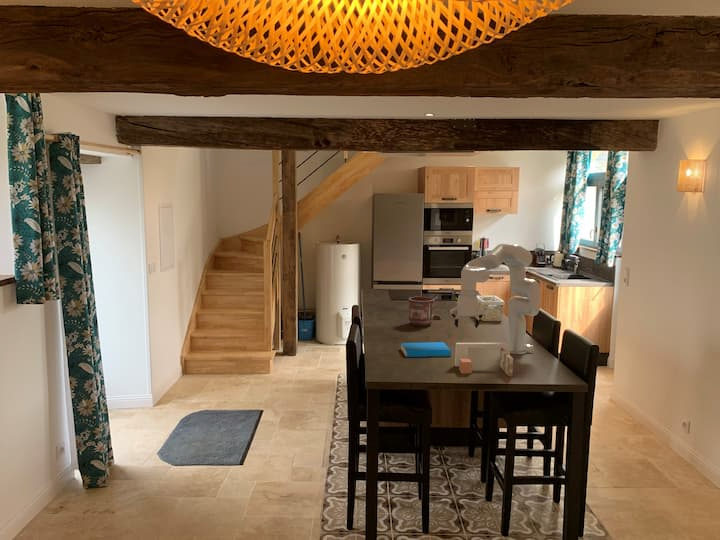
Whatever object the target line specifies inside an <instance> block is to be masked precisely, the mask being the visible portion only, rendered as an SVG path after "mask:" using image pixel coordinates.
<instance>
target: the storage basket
mask: <svg viewBox="0 0 720 540" xmlns="http://www.w3.org/2000/svg"><path fill="white" fill-rule="evenodd" d="M476 296H477V300H478V308H480V309H482V310H483V311H485V313H484V315H483V317H482V318H480V320H481V321H484V322H501V321H503V315H504V308H505V301H504V300H503V299H502V298H500V297H499V296H498V295H476ZM480 314H481V312H480V311H478V315H477V316H479V315H480Z"/></svg>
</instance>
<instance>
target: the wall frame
mask: <svg viewBox="0 0 720 540" xmlns="http://www.w3.org/2000/svg"><path fill="white" fill-rule="evenodd" d="M469 348H472V349H473V348H475V349H476V348H479V349H480V348H481V349H482V348H483V349H484V348H489V349H490V348H491V349H493V348H498V349H501V348H503V349H504V350H505V351H506V352H507V353H508V354H509V355H510V356H511V353H510V343H508V342H455V354H454V355H455V357H454V358H455V359H454V366H455V367H459V359H469Z"/></svg>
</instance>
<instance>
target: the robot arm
mask: <svg viewBox="0 0 720 540" xmlns="http://www.w3.org/2000/svg"><path fill="white" fill-rule="evenodd" d="M532 263H533V255H532V253H531V251H529V250H528V249H526V248H525V247H523V246H521V245H519V244H514V243H499V244H497V245H496V246H495V247H494V248H493V249H491V251H490V252H489V253H487V254H486V255H482V256H479V257H476V258H474V259H472V260H470V261H468V262H467V263H466V264H465V265H464V266H463V267H462V269H461V272H460V275H461V276H460V293H459V295H458V297H457V302H456V306H455V307H453V308H451V309H449V312H450V315H451V316H452V317H453V319H454V326H455V327H456V328H458V327H459V319H458V318H459V317H475V320H474V327H475V329H478V327H479V325H480V324H479V323H480V320H481V319H480V318H482V317H483V315H484V313H485V311H483V310H482V309H480V308H478V300H477V296H478V295H480V291H478V290H477V283H486V282H488V281H489V279H490V276H491V275H490V270H495V269H498V268H499V267H500V266H501V265H502V264H505V265H506V266H507V268H508V270H509V289H510V292H511V294H513V295H514V296H510V298H509V299H508V301H507V311H508V325H507V326H508V329H507V330H508V331H507V343H510V354H513V355H525V354H527V353H528V349H529V350H530V349H531V350H533V349H534V348H535V347H534V345H530V344H526V331H527V320H526V317H525V315H526V316H530V317H531V316H532V317H535V316H537V315H538V314H539V311H540V308H541V307H540V303H541V302H540V301H541V299H540V298H541V297H540V296H541V295H540V289H541V288H540V285H539V282H538V281H537V280H535V279H530V278H527V274H526V267H529V266H530V265H531V264H532ZM454 311H455V312H456V314H455V313H454ZM478 311H480V312H481V314H480V315H479V316H477V315H478Z"/></svg>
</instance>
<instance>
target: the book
mask: <svg viewBox="0 0 720 540" xmlns="http://www.w3.org/2000/svg"><path fill="white" fill-rule="evenodd" d="M400 350H401V351H402V352H403V354H404V356H405V357H406V358H417V357H418V358H424V357H425V358H427V357H428V356H432V357H451V356H452V350H451V349H450V347H448V345H447V344H446V343H445V342H443V341H440V342H439V341H437V342H435V341H434V342H401V343H400Z"/></svg>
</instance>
